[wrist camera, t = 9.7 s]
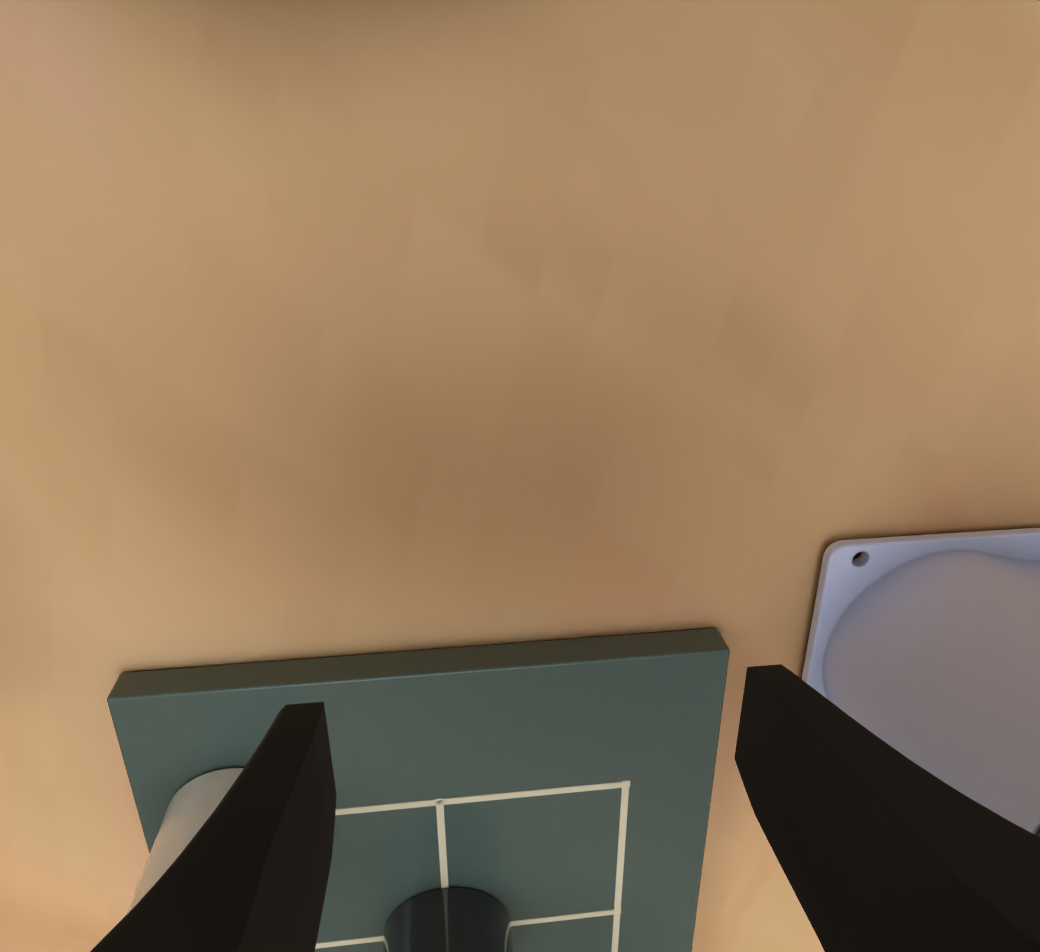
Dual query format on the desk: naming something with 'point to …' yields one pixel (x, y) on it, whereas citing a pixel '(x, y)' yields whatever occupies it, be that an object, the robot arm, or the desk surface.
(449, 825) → the game board
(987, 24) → the desk surface
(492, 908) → the dark grey cylinder
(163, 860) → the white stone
